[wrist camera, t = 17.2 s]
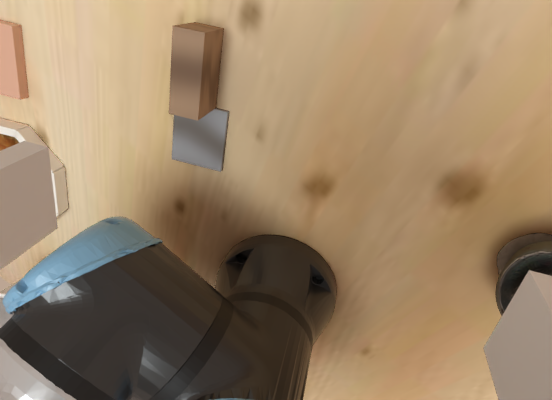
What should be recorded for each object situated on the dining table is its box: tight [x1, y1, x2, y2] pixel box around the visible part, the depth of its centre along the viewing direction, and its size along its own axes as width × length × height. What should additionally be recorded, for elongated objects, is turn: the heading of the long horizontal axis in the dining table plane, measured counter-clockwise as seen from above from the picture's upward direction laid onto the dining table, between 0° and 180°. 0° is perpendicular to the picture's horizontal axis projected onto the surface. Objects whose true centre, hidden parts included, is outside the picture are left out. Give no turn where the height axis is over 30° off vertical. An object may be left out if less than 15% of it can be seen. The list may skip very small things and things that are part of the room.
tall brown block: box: [169, 22, 229, 172], centre depth 41 cm, size 15×6×5 cm, turn 170°
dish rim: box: [0, 118, 69, 217], centre depth 53 cm, size 15×15×2 cm
